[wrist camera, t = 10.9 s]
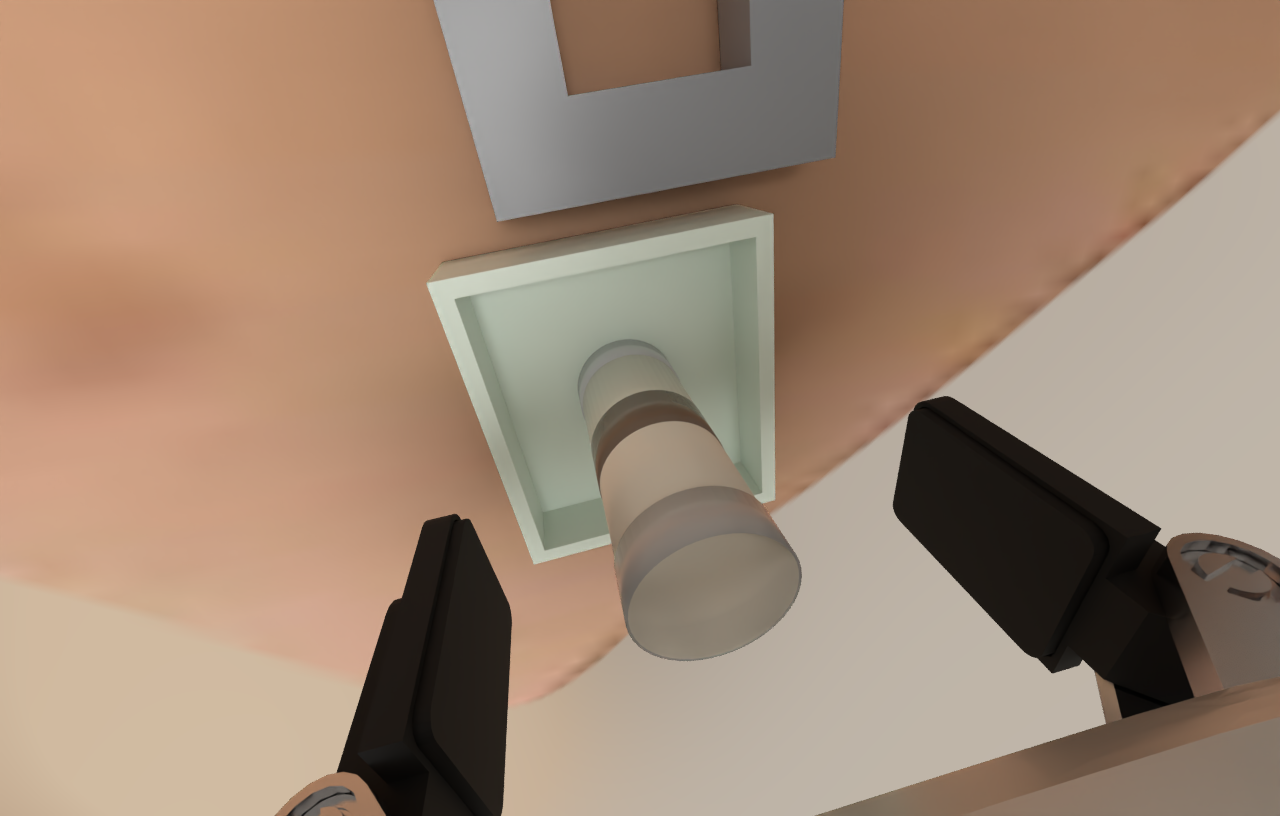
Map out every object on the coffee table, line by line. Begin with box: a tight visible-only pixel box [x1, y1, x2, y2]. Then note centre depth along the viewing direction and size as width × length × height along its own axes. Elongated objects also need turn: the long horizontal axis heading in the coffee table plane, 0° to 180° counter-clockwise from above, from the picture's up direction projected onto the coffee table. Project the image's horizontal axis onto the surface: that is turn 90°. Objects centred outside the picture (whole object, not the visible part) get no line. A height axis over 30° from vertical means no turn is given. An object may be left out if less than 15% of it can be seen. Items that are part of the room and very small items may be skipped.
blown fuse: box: [578, 339, 802, 661], centre depth 12 cm, size 3×3×9 cm
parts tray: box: [426, 204, 775, 564], centre depth 16 cm, size 9×10×2 cm
